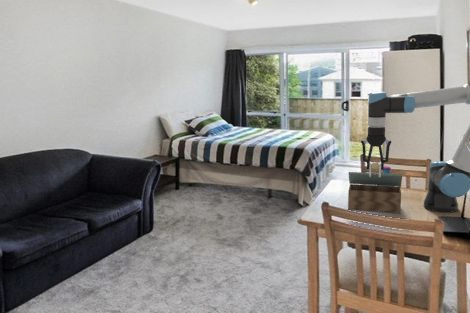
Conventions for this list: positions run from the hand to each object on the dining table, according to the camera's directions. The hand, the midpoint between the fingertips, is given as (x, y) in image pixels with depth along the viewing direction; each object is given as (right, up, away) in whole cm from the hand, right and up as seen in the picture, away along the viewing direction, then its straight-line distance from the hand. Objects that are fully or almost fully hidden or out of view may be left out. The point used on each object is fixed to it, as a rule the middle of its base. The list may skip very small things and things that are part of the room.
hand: (374, 176), depth 188 cm
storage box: (+4, -16, +13) cm, 21 cm away
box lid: (+2, -1, +6) cm, 7 cm away
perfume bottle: (+19, -12, +37) cm, 43 cm away
